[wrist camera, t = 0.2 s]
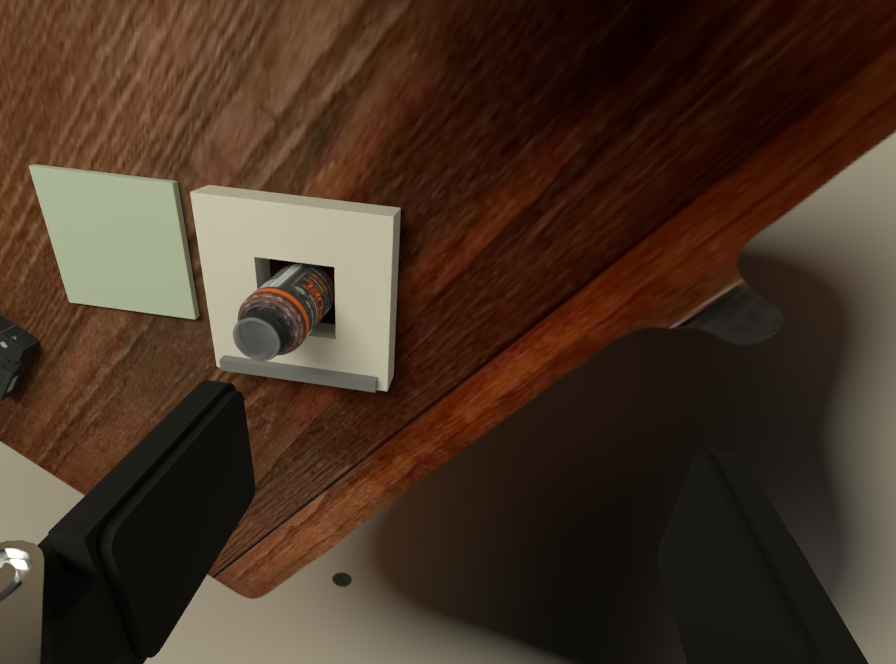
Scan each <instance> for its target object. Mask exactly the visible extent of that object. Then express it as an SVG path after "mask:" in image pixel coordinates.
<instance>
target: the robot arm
mask: <svg viewBox="0 0 896 664" xmlns="http://www.w3.org/2000/svg"><path fill="white" fill-rule="evenodd" d="M254 493H255V479H254V472H253V465H252V457H251V450H250V442H249V435H248V428H247V420H246V413H245V405H244V398H243V395H242V393H241V392H238V391H236V388H235V386H234V385H233V384H231V383H224V382H216V381H209V380H205V381H203V382H201V383H200V384H199V385H198V386H197V387H196V388H195V389H194V390H193V391H192V392H191V393H190V394H189V395H187V396H186V397H185V398H184V399H183V400H182V401H181V402H180V403H179V404H178V405H177V406H176V407H175V408H174V409H173V410H172V411H171V412H170V413H169V414H168V415H167V416H166V417H165V418H164V419H163V420H162V421H161V422H160V423H159V424H158V425H157V426H156V427H155V428H154V429H153V430H152V431H151V432H150V433H149V434H148V435H147V436H146V437H145V438H144V439H143V440H142V441H141V442H140V443H139V444H138V445H137V446H136V447H135V448H133V449H132V450H131V451H130V452H129V453H128V454H127V455H126V456H125V457H124V458H123V459H122V460H121V461H120V462H119V463H118V464H117V465H116V466H115V467H114V468H113V469H112V470H111V471H110V472H109V473H108V474H107V475H106V476H105V477H104V478H103V479H102V480H101V481H100V482H99V483H98V484H97V485H96V486H95V487H94V488H93V489H92V490H91V491H90V492H89V493H88V494H87V495H86V496H85V497H84V498H83V499H82V500H81V501H80V502H78V503H77V505H75V506H74V507H73V508H72V509H71V510H70V511H69V513H67V514H66V515H65V516H64V517H63V518H62V519H61V520H60V521H59V522H58V523H57V524H56V525H55V526H54V527H53V528H52V529H51V530H50V531H49V532H48V533H49V535H48V536H47V537H45V538H44V539H43V541H42V542H40V544H38V546H37V545H35V544H34V543H30V542H26V541H5V542H1V543H0V664H143V663H144V662H145V660H146V659H147V657H149V658H151V657H154V656H155V655H156V654H157V653H158V652H159V651H160V649H161V648H162V647H163V645H164V643H165V642H166V640H167V638H168V637H169V635H170V633H171V632H172V630H173V629H174V627H175V625H176V624H177V622H178V620H179V619H180V617H181V616H182V614H183V612H184V611H185V609H186V608H187V606H188V604H189V603H190V601H191V599H192V598H193V596H194V594H195V593H196V591H197V590H198V588H199V587H200V585H201V583H202V581H203V580H204V578H205V576H206V575H207V574H208V572H209V570H210V569H211V567H212V565H213V564H214V562H215V561H216V559H217V557H218V556H219V554H220V552H221V551H222V549H223V548H224V546H225V544H226V543H227V541H228V539H229V538H230V536H231V535H232V533H233V531H234V530H235V528H236V526H237V525H238V523H239V522H240V520H241V518H242V517H243V515H244V514H245V512H246V510H247V509H248V507H249V505H250V504H251V502H252V500H253V497H254ZM658 563H659V567H660V571H661V574H662V578H663V581H664V584H665V588H666V591H667V595H668V598H669V602H670V605H671V609H672V612H673V616H674V619H675V622H676V626H677V629H678V633H679V636H680V640H681V643H682V647H683V650H684V653H685V657H686V660H687V664H868V662H867V660H866V659H865V657H864V656H863V654H862V652H861V650H860V649H859V647H858V645H857V644H856V642H855V640H854V639H853V637H852V636H851V634H850V632H849V630H848V629H847V627H846V625H845V624H844V622H843V620H842V618H841V617H840V615H839V614H838V612H837V610H836V608H835V607H834V605H833V603H832V602H831V600H830V598H829V597H828V595H827V593H826V592H825V590H824V588H823V587H822V585H821V584H820V582H819V580H818V578H817V577H816V575H815V573H814V572H813V570H812V568H811V567H810V565H809V563H808V562H807V560H806V558H805V556H804V555H803V553H802V551H801V550H800V548H799V546H798V545H797V543H796V541H795V540H794V539H793V538H792V536H791V535H790V533H789V531H788V530H787V528H786V526H785V525H784V523H783V521H782V520H781V518H780V516H779V515H778V513H777V511H776V509H775V508H774V506H773V504H772V503H771V501H770V499H769V498H768V496H767V494H766V493H765V491H764V489H763V488H762V486H761V484H760V483H759V481H758V479H757V477H756V476H755V474H754V472H753V471H752V469H751V467H750V466H749V464H748V462H747V461H746V459H745V458H744V456H743V455H742V454H740V453H736V452H729V451H721V450H714V449H709V450H707V451H706V452H705V453H704V455H697V456H696V457H695V458H694V460H693V463H692V465H691V468H690V470H689V473H688V475H687V478H686V480H685V483H684V485H683V488H682V491H681V493H680V495H679V498H678V500H677V503H676V505H675V508H674V510H673V513H672V516H671V518H670V521H669V523H668V526H667V528H666V531H665V533H664V536H663V538H662V541H661V543H660V546H659V550H658Z"/></svg>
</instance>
